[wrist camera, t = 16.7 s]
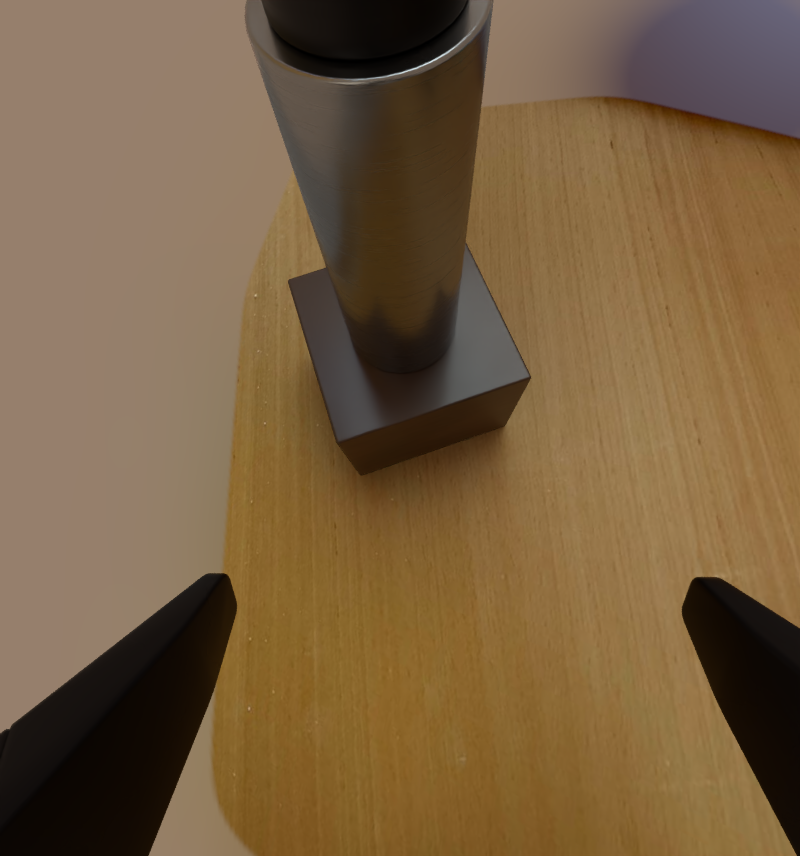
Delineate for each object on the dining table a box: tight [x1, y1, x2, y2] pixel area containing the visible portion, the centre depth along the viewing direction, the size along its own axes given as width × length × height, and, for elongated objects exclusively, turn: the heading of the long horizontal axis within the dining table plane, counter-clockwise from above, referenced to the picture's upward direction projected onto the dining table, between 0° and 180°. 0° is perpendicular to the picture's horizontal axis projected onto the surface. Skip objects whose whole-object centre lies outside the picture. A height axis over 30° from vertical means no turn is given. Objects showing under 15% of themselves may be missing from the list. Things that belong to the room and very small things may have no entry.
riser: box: [288, 243, 531, 475], centre depth 21 cm, size 8×8×6 cm
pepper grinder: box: [245, 0, 493, 373], centre depth 12 cm, size 4×4×12 cm
